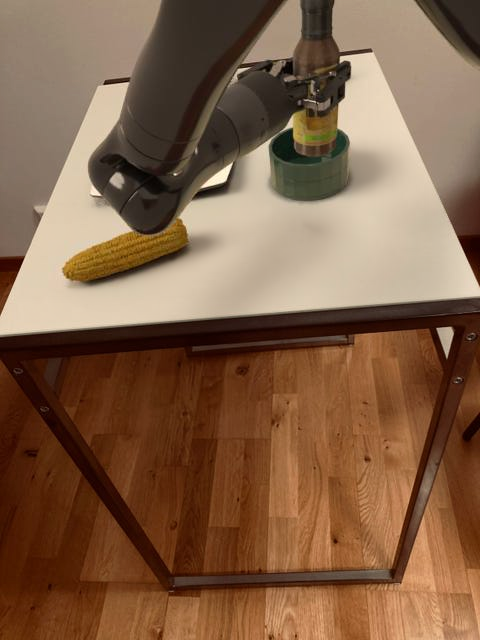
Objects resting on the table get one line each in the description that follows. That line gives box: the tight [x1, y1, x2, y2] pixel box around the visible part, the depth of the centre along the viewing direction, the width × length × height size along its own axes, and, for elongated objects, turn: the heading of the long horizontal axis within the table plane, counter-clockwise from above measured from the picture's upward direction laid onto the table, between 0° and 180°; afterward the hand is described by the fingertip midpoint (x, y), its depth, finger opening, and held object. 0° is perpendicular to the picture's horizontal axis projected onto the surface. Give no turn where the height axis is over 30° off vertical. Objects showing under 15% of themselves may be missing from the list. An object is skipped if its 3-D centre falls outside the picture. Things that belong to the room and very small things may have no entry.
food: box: [61, 217, 190, 282], centre depth 82 cm, size 21×6×6 cm, turn 113°
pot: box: [268, 126, 351, 202], centre depth 92 cm, size 14×14×7 cm
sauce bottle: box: [292, 0, 341, 157], centre depth 67 cm, size 6×6×20 cm
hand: (325, 64), depth 67 cm, fingers closed on sauce bottle, 6 cm apart
